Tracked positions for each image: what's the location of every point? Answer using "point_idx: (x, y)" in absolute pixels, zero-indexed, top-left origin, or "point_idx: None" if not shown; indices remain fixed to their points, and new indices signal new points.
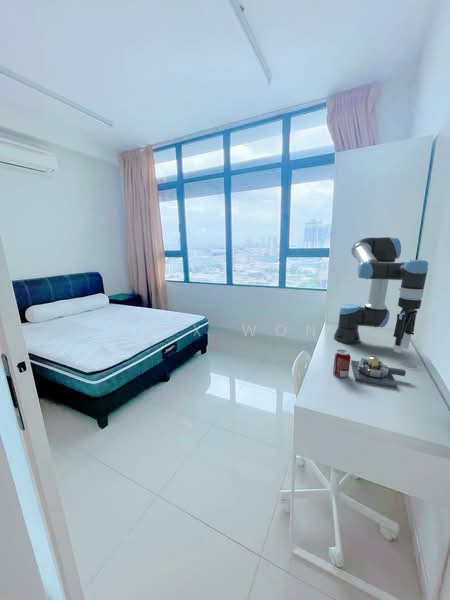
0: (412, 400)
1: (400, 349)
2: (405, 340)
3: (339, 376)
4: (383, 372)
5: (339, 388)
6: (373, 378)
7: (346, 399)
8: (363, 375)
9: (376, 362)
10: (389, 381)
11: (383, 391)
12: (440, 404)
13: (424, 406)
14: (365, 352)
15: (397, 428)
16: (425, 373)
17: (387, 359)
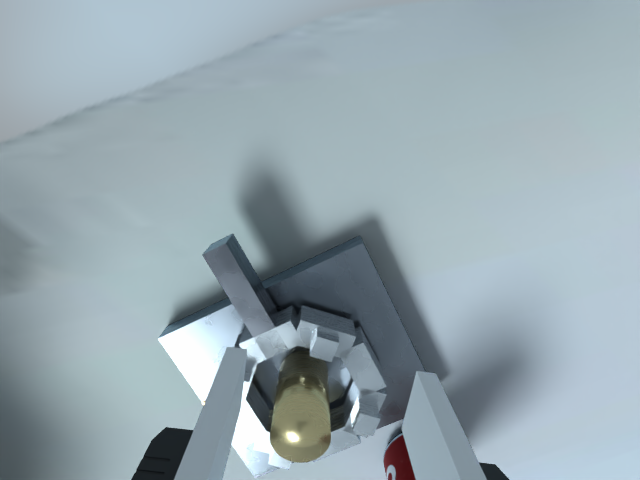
0: (426, 149)
1: (447, 409)
2: (221, 458)
3: None
4: (345, 333)
5: (546, 412)
6: (383, 344)
7: (620, 363)
8: (387, 386)
9: (320, 404)
10: (356, 279)
11: (435, 272)
12: (362, 28)
13: (446, 91)
14: (46, 455)
15: None
16: (22, 153)
17: (27, 352)
